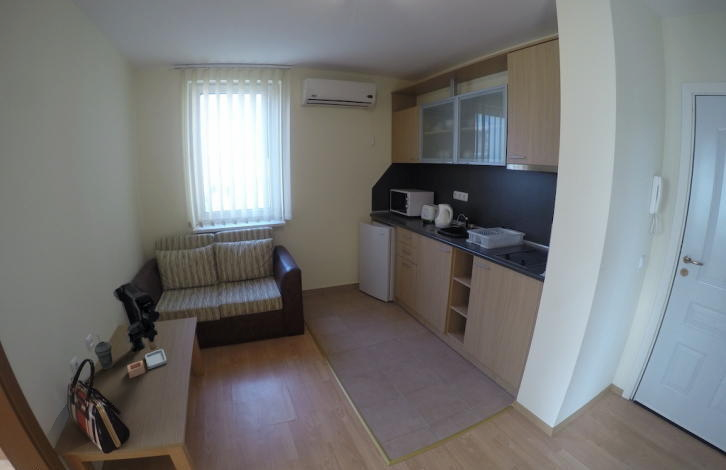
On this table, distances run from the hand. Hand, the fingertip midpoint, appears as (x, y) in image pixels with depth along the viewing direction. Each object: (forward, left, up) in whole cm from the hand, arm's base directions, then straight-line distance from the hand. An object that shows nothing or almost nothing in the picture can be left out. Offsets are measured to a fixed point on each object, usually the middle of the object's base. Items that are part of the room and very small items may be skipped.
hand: (151, 340), depth 176 cm
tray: (0, 0, -13) cm, 13 cm away
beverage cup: (-11, -21, -13) cm, 27 cm away
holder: (+5, -9, -13) cm, 17 cm away
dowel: (0, 0, -5) cm, 5 cm away
